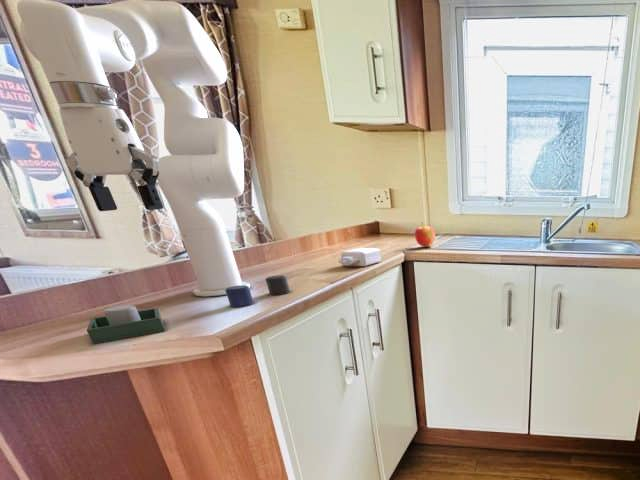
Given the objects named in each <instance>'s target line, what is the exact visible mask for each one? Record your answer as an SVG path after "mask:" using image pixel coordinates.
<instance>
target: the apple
mask: <svg viewBox="0 0 640 480" xmlns="http://www.w3.org/2000/svg"><path fill="white" fill-rule="evenodd" d="M414 238H415V241H416V243H417V244H418V245H419V246H421V247H424V248H429V247H432V245H434V242H435V239H436V233H435V230H434V228H433V227H432V226H430V225H424V223H421V225H419V226H418V227H417V228H416V230H415V231H414Z"/></svg>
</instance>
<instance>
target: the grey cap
mask: <svg viewBox="0 0 640 480" xmlns="http://www.w3.org/2000/svg"><path fill="white" fill-rule="evenodd" d="M138 311H139V310H138V309H137V307H136V306H135V305H132V304H131V305H130V304H127V305H118V306H113V307H109V308H106V309H105V310H104V311H103V314H104V316H106V318H107V320H108V322H109V325H110V326H111V325H116V324H122V323H128V322H134V321H140V320H141V318H140V316H139V314H138Z"/></svg>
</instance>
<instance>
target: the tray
mask: <svg viewBox="0 0 640 480" xmlns="http://www.w3.org/2000/svg"><path fill="white" fill-rule="evenodd" d="M137 311H138V314H139V316H140V318H141V320H140V321H134V322H128V323H122V324H116V325H111V326H110V325H109V322H108V320H107V318H106V316H105V315H104V316H98V317H92V318H90V319H89V323H88V325H87V328H86V332H87V334H88V336H89V338H90V340H91V342H92V344H93V345H97V344H102V343H107V342H113V341H118V340H124V339H130V338H136V337H140V336H146V335H152V334H156V333H163V332H165V331H166V330H165V325H164V321H163V318H162V316H161V313H160V311H159V309H158V307H154V308H148V309H142V310H137Z"/></svg>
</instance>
